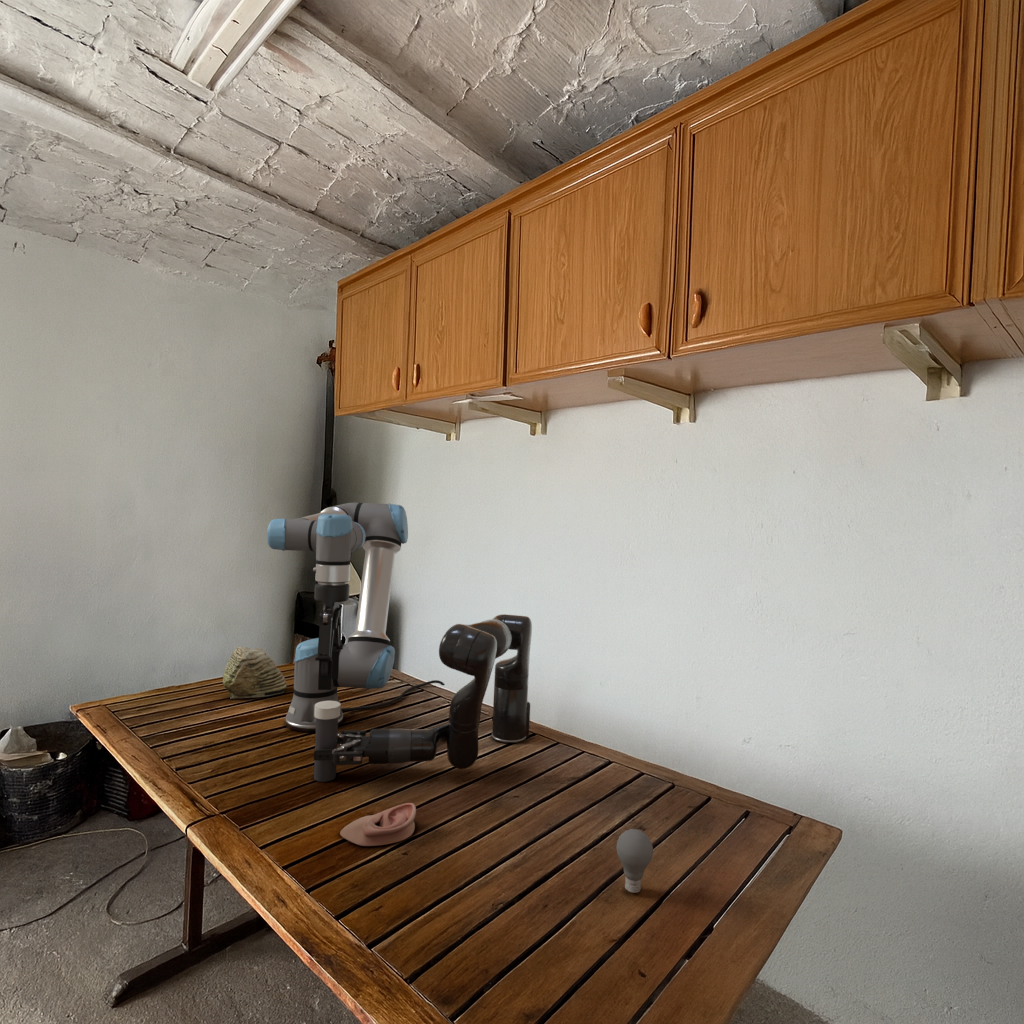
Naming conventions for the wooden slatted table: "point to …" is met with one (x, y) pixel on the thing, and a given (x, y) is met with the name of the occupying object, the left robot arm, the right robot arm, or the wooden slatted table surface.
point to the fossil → (252, 674)
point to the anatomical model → (382, 826)
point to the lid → (327, 710)
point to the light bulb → (634, 857)
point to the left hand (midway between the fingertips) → (328, 683)
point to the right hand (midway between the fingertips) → (316, 747)
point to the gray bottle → (325, 740)
